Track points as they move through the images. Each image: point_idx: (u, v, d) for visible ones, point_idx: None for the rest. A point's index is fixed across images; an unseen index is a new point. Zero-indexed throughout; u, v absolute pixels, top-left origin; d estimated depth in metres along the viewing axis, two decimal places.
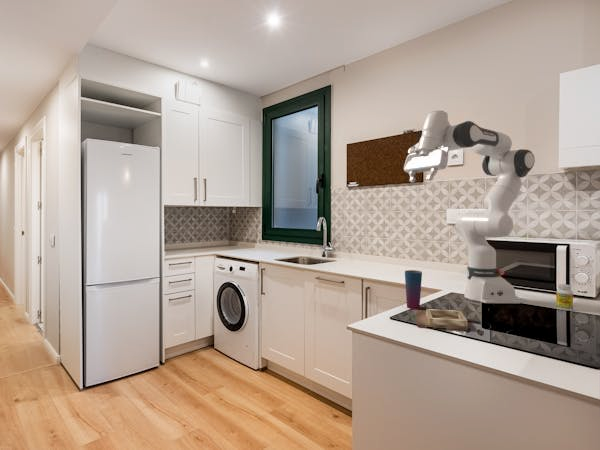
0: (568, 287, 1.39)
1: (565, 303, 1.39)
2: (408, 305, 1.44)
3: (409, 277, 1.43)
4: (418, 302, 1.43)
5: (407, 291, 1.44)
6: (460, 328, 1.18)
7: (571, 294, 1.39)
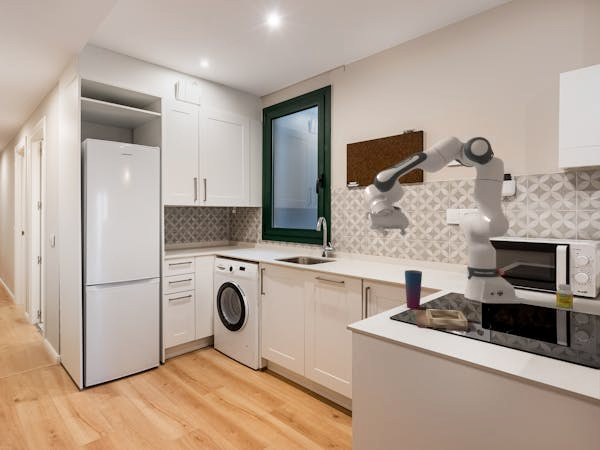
0: (568, 287, 1.39)
1: (565, 303, 1.39)
2: (408, 305, 1.44)
3: (409, 277, 1.43)
4: (418, 302, 1.43)
5: (407, 291, 1.44)
6: (460, 328, 1.18)
7: (571, 294, 1.39)
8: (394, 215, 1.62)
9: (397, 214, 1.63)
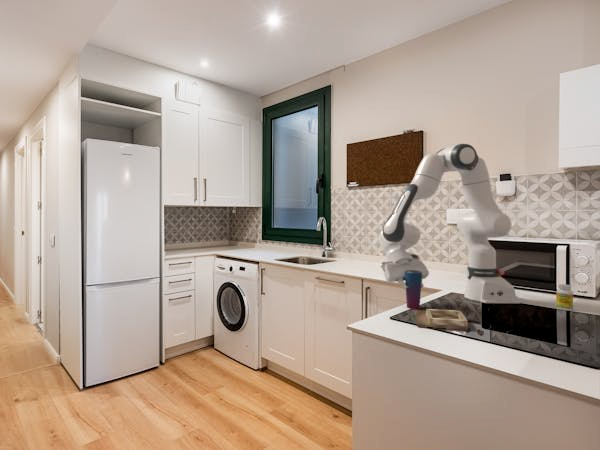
0: (568, 287, 1.39)
1: (565, 303, 1.39)
2: (408, 305, 1.44)
3: (409, 277, 1.43)
4: (418, 302, 1.43)
5: (407, 291, 1.44)
6: (460, 328, 1.18)
7: (571, 294, 1.39)
8: (412, 264, 1.51)
9: (415, 263, 1.52)
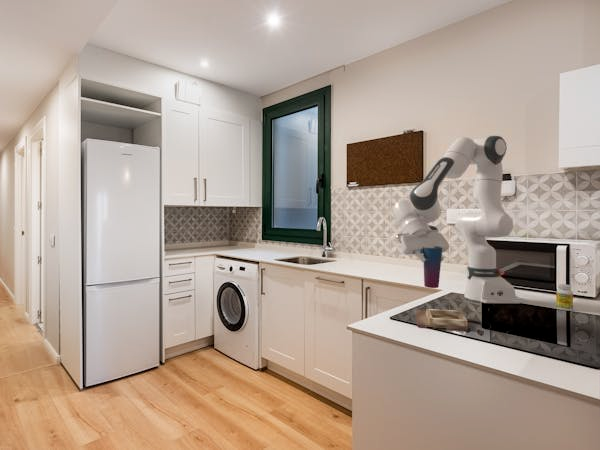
0: (568, 287, 1.39)
1: (565, 303, 1.39)
2: (426, 284, 1.32)
3: (427, 253, 1.30)
4: (437, 280, 1.30)
5: (425, 268, 1.31)
6: (460, 328, 1.18)
7: (571, 294, 1.39)
8: (431, 236, 1.38)
9: (434, 235, 1.38)
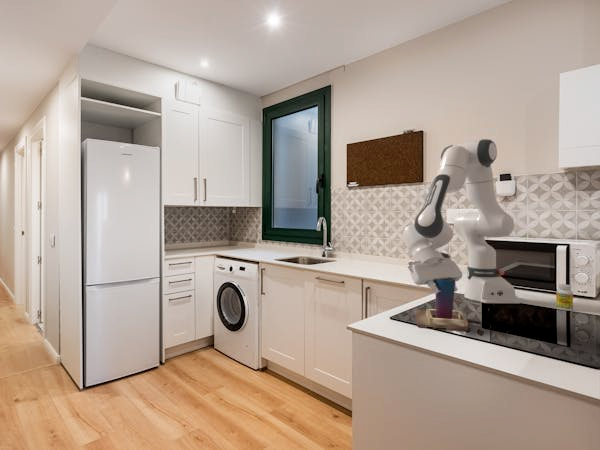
0: (568, 287, 1.39)
1: (565, 303, 1.39)
2: (438, 317, 1.25)
3: (440, 285, 1.23)
4: (450, 314, 1.24)
5: (437, 301, 1.25)
6: (460, 328, 1.18)
7: (571, 294, 1.39)
8: (443, 265, 1.31)
9: (447, 264, 1.32)
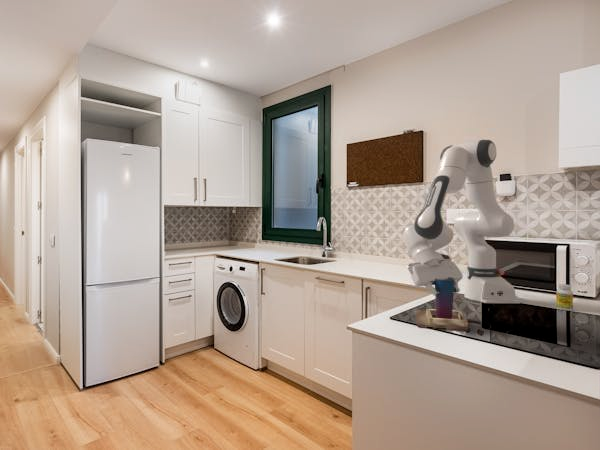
0: (568, 287, 1.39)
1: (565, 303, 1.39)
2: (438, 317, 1.25)
3: (439, 285, 1.23)
4: (450, 314, 1.24)
5: (437, 301, 1.25)
6: (460, 328, 1.18)
7: (571, 294, 1.39)
8: (443, 266, 1.31)
9: (447, 265, 1.32)
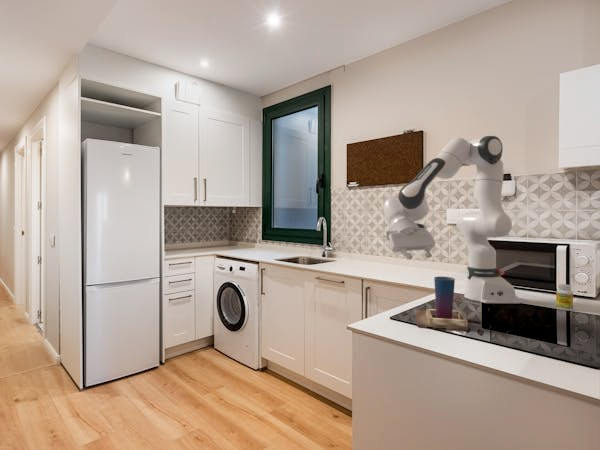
0: (568, 287, 1.39)
1: (565, 303, 1.39)
2: (438, 317, 1.25)
3: (439, 285, 1.23)
4: (450, 314, 1.24)
5: (437, 301, 1.25)
6: (460, 328, 1.18)
7: (571, 294, 1.39)
8: (418, 234, 1.44)
9: (421, 233, 1.45)
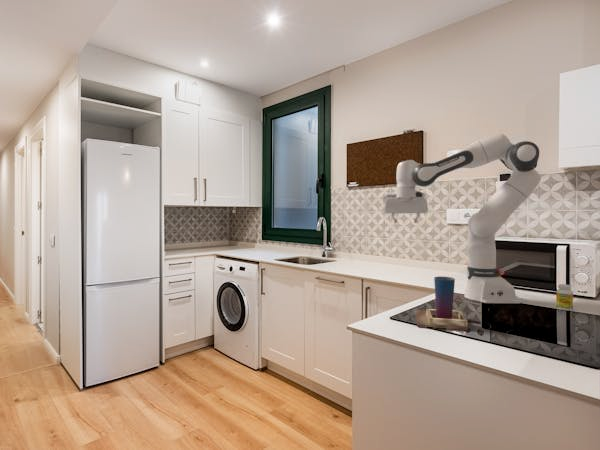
0: (568, 287, 1.39)
1: (565, 303, 1.39)
2: (438, 317, 1.25)
3: (439, 285, 1.23)
4: (450, 314, 1.24)
5: (437, 301, 1.25)
6: (460, 328, 1.18)
7: (571, 294, 1.39)
8: (414, 201, 1.67)
9: (418, 201, 1.66)
